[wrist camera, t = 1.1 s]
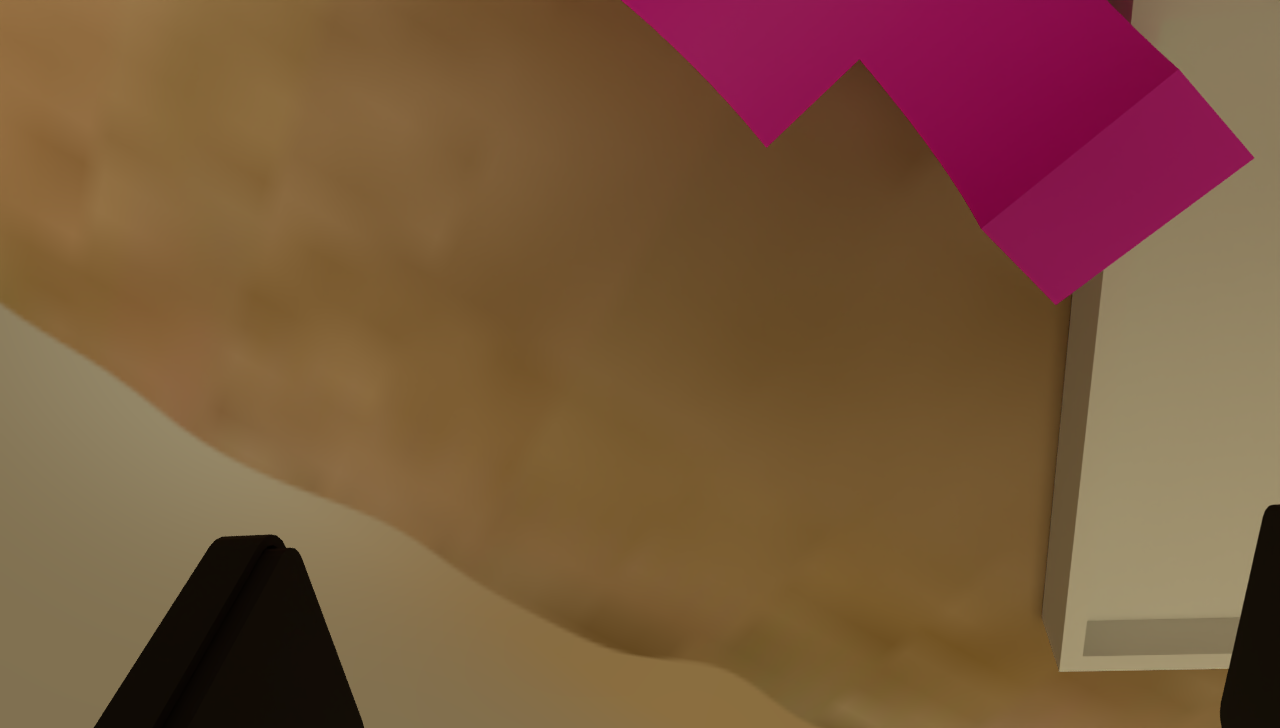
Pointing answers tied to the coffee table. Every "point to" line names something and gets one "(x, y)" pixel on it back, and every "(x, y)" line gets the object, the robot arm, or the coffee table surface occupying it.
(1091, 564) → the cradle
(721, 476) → the coffee table surface
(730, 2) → the toy block
